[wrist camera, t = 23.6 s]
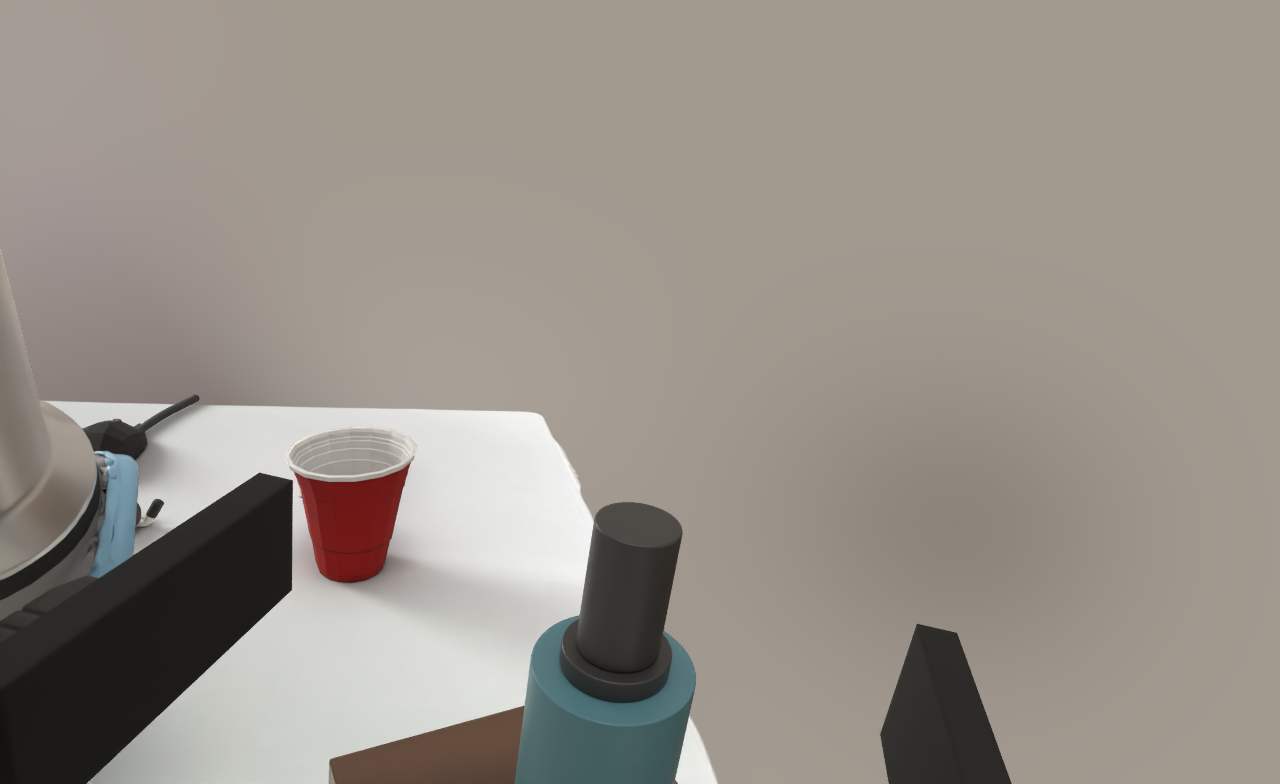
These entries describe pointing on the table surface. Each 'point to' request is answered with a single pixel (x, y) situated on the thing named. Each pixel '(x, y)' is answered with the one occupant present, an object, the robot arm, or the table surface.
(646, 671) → the capped bottle
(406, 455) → the plastic cup
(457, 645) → the table surface
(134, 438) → the gaming mouse
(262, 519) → the robot arm
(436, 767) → the coffee table
